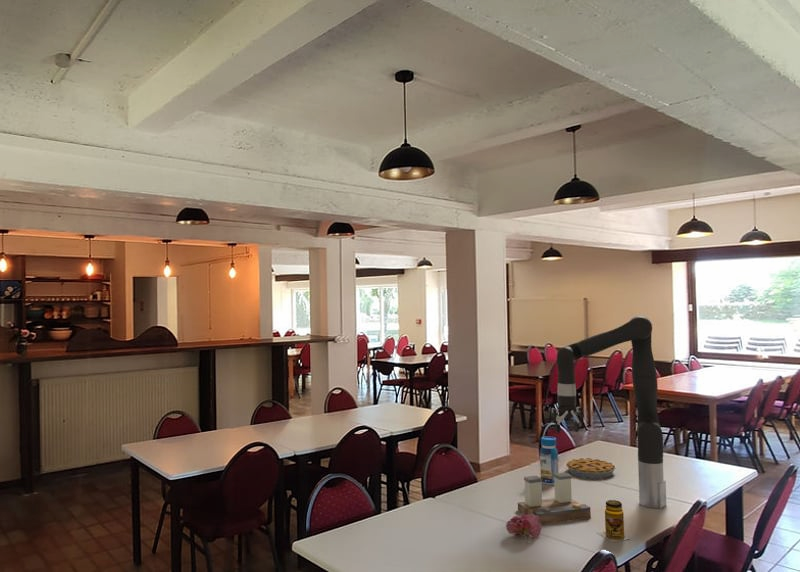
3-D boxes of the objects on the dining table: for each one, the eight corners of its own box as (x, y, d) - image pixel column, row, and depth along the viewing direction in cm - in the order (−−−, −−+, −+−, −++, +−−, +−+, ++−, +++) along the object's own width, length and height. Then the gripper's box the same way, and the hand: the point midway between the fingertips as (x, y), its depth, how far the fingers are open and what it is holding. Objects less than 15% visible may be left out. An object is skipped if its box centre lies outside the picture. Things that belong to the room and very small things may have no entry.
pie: (557, 470, 281) (557, 460, 281) (591, 464, 290) (591, 454, 290) (589, 482, 261) (589, 471, 261) (625, 475, 270) (625, 465, 270)
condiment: (612, 542, 196) (611, 506, 196) (597, 533, 204) (596, 498, 204) (630, 539, 198) (629, 504, 198) (614, 530, 206) (613, 496, 206)
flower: (511, 541, 206) (519, 514, 210) (537, 550, 199) (545, 522, 204) (499, 531, 198) (508, 503, 203) (525, 541, 192) (534, 511, 196)
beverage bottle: (561, 485, 257) (560, 440, 258) (542, 485, 257) (541, 440, 258) (556, 479, 266) (555, 435, 266) (538, 479, 266) (537, 435, 266)
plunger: (524, 503, 226) (524, 476, 226) (537, 501, 227) (536, 475, 227) (530, 507, 221) (529, 480, 222) (542, 505, 223) (542, 478, 223)
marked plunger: (554, 499, 229) (553, 473, 229) (566, 498, 231) (565, 472, 231) (560, 503, 225) (559, 476, 225) (572, 501, 226) (571, 475, 227)
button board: (517, 510, 227) (517, 498, 227) (567, 504, 233) (566, 492, 233) (538, 525, 212) (538, 512, 212) (590, 517, 218) (590, 505, 218)
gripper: (576, 391, 250) (577, 429, 250) (547, 393, 246) (547, 431, 246) (586, 394, 243) (587, 433, 242) (556, 396, 239) (556, 435, 239)
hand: (567, 432), depth 244 cm, fingers open, 8 cm apart
